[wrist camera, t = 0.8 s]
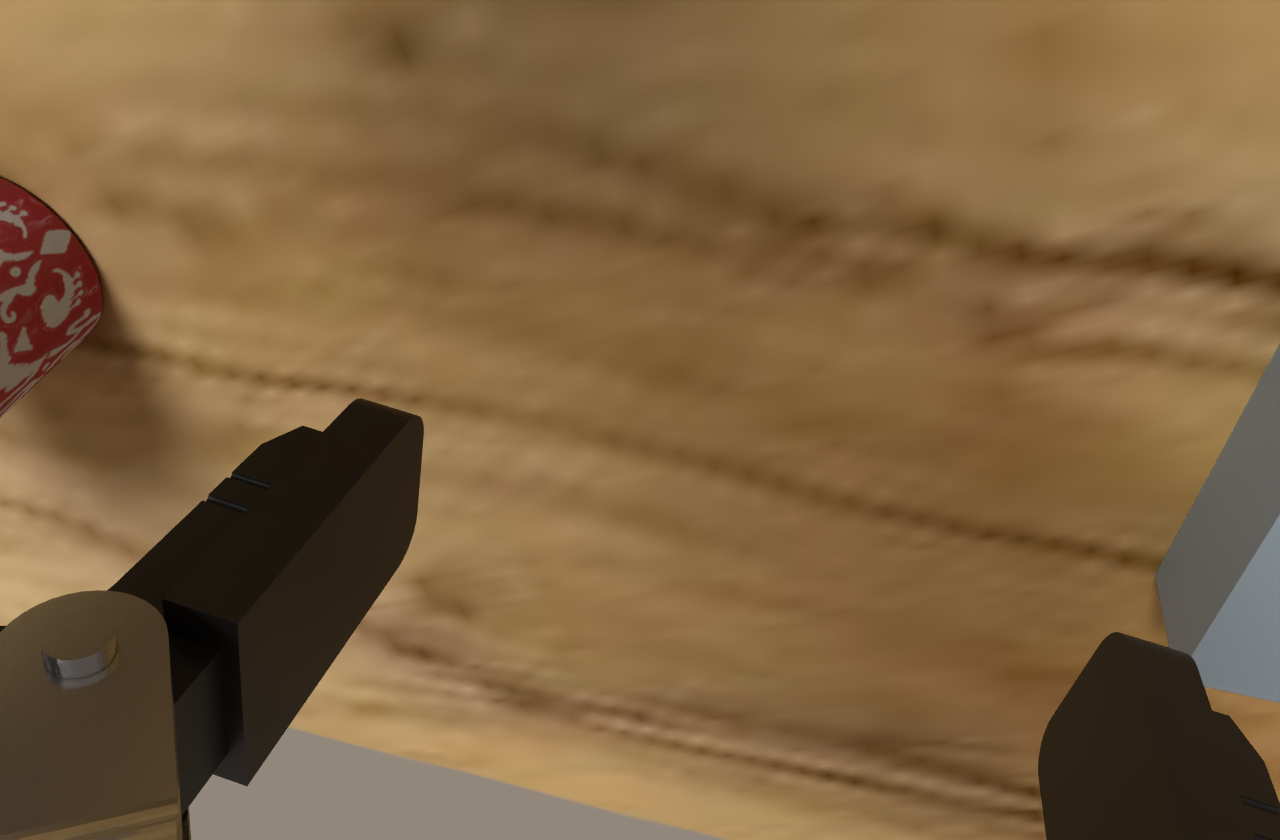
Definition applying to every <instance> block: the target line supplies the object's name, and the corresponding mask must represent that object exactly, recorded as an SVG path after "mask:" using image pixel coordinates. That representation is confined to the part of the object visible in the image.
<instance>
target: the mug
mask: <svg viewBox="0 0 1280 840" xmlns="http://www.w3.org/2000/svg"><path fill="white" fill-rule="evenodd" d="M102 309H103V296H102V290H101V285H100V282H99V279H98V275H97V273H96V271H95V268H94V266H93V264H92V262H91V260H90V258H89V257H88V255H87V253H86V252H85V250H84V249H83V247H82V246H81V244H80V243H79V242H78V240H77V239H76V238H75V236H74V235H73V234H72V233H71V231H70V230H69V229H68V228H67V227H66V226H65V225H64V223H63V222H62V221H61V220H60V219H59V218H58V217H57V216H56V215H55V214H54V213H53V212H52V211H51V210H49V209H48V208H47V207H46V206H45V205H44V204H43V203H41V202H40V201H39V200H37V199H36V198H34V197H33V196H32V195H30V194H29V193H27V192H26V191H24V190H23V189H21V188H19V187H18V186H16V185H14V184H13V183H11V182H9V181H7V180H5V179H2V178H0V418H1V417H2V416H3V415H4V414H5V413H6V412H7V411H8V410H9V409H10V408H11V407H12V406H13V405H15V404H16V403H17V402H18V401H19V400H20V399H21V398H22V397H23V396H24V395H25V394H26V393H27V392H28V391H29V390H30V389H31V388H33V387H34V386H35V385H36V384H37V383H38V382H39V381H40V380H41V379H42V378H43V377H44V376H45V375H46V374H47V373H48V372H49V371H50V370H52V369H53V368H54V367H55V366H56V365H57V364H58V363H59V362H61V361H62V360H63V359H64V358H65V357H66V356H67V355H68V354H69V353H70V352H72V351H73V350H74V349H75V348H76V347H77V346H78V345H79V344H80V343H81V342H82V341H83V340H84V339H85V338H86V337H87V336H88V335H89V334H90V333H91V332H92V331H93V330H94V328H95V327H96V326H97V325H98V323H99V319H100V317H101V314H102Z"/></svg>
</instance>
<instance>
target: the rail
mask: <svg viewBox="0 0 1280 840" xmlns="http://www.w3.org/2000/svg"><path fill="white" fill-rule="evenodd" d="M1155 578H1156V583H1157V588H1158V593H1159V598H1160V603H1161V608H1162V613H1163V618H1164V623H1165V628H1166V633H1167V638H1168V643H1169V648H1171V649H1175V650H1178V651H1181V652H1184V653H1187V654H1189V655H1190V656H1191V657H1192V658H1193V659H1194V661H1195V663H1196V665H1197V667H1198V670H1199V673H1200V676H1201V679H1202V682H1203V685H1204V687H1208V688H1213V689H1217V690H1222V691H1227V692H1232V693H1236V694H1241V695H1246V696H1251V697H1255V698H1260V699H1265V700H1270V701H1274V702H1279V703H1280V344H1279V346H1278V348H1277V349H1276V351H1275V353H1274V355H1273V357H1272V359H1271V361H1270V362H1269V364H1268V366H1267V368H1266V370H1265V372H1264V374H1263V375H1262V377H1261V379H1260V381H1259V383H1258V385H1257V387H1256V388H1255V390H1254V392H1253V394H1252V396H1251V398H1250V400H1249V401H1248V403H1247V405H1246V407H1245V409H1244V411H1243V413H1242V414H1241V416H1240V418H1239V420H1238V422H1237V424H1236V426H1235V427H1234V429H1233V431H1232V433H1231V435H1230V437H1229V439H1228V440H1227V442H1226V444H1225V446H1224V448H1223V450H1222V452H1221V453H1220V455H1219V457H1218V459H1217V461H1216V463H1215V465H1214V466H1213V468H1212V470H1211V472H1210V474H1209V476H1208V478H1207V479H1206V481H1205V483H1204V485H1203V487H1202V489H1201V491H1200V492H1199V494H1198V496H1197V498H1196V500H1195V502H1194V504H1193V505H1192V507H1191V509H1190V511H1189V513H1188V515H1187V517H1186V518H1185V520H1184V522H1183V524H1182V526H1181V528H1180V530H1179V531H1178V533H1177V535H1176V537H1175V539H1174V541H1173V543H1172V544H1171V546H1170V548H1169V550H1168V552H1167V554H1166V556H1165V557H1164V559H1163V561H1162V563H1161V565H1160V567H1159V569H1158V570H1157V572H1156V574H1155Z"/></svg>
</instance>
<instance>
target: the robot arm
mask: <svg viewBox="0 0 1280 840" xmlns="http://www.w3.org/2000/svg"><path fill="white" fill-rule="evenodd" d="M423 436H424V426H423V421H422V419H421V417H420V416H417V415H414V414H411V413H407V412H404V411H401V410H398V409H394V408H391V407H388V406H384V405H381V404H378V403H375V402H371V401H368V400H365V399H361V398H360V399H356V400H354V401H353V402H352V403H351V404H350V405H349V406H348V407H347V408H346V409H345V410H344V411H343V412H342V413H341V414H340V415H339V416H338V417H337V418H336V419H335V420H334V421H333V422H332V423H331V424H330V425H329V426H328V427H327V428H326V429H325V430H324V431H323V432H321V431H318V430H315V429H312V428H308V427H305V426H301V427H299V428H297V429H294V430H292V431H290V432H288V433H285V434H283V435H281V436H279V437H277V438H274V439H272V440H270V441H268V442H265V443H263V444H261V445H260V446H259V447H258V448H257V449H256V450H255V451H254V452H253V453H252V454H251V455H250V456H249V457H248V458H246V459H245V460H244V461H243V462H242V463H241V464H240V465H239V466H238V467H237V468H236V469H235V470H234V471H233V472H232V476H231V478H226V479H224V480H223V481H222V482H221V483H220V484H219V485H218V486H217V487H216V488H215V489H214V490H213V491H212V492H211V493H210V494H209V496H208V499H207V501H206V502H205V501H201V502H200V503H199V504H198V505H197V506H196V507H195V508H194V509H193V510H192V511H191V512H190V513H189V514H188V515H187V516H186V517H185V518H184V519H183V520H181V521H180V522H179V523H178V524H177V525H176V526H175V527H174V528H173V529H172V530H171V531H170V532H169V533H168V534H167V535H166V536H165V537H164V538H163V539H162V540H161V541H159V542H158V543H157V544H156V545H155V546H154V547H153V548H152V549H151V550H150V551H149V552H148V553H147V554H146V555H145V556H144V557H143V558H142V559H141V560H140V561H139V562H137V563H136V564H135V565H134V566H133V567H132V568H131V569H130V570H129V571H128V572H127V573H126V574H125V575H124V576H123V577H122V578H121V579H120V580H119V581H118V582H117V583H115V584H114V585H113V586H112V587H111V588H110V589H109V590H107V591H99V590H96V591H84V592H77V593H72V594H67V595H63V596H60V597H57V598H53V599H51V600H48V601H46V602H43V603H41V604H39V605H37V606H35V607H33V608H31V609H29V610H27V611H26V612H24V613H22V614H21V615H20V616H18V617H17V618H16V619H14V620H13V621H12V622H10V623H9V624H8V625H7V626H0V840H191V830H190V816H189V805H190V804H191V803H192V801H193V800H194V799H195V797H196V796H197V794H198V793H199V792H200V790H201V789H202V788H203V786H204V785H205V784H206V782H207V781H208V780H209V778H210V777H211V776H212V774H214V775H217V776H220V777H223V778H225V779H228V780H231V781H234V782H237V783H239V784H242V785H245V786H248V784H249V782H250V781H251V780H252V778H253V777H254V775H255V774H256V772H257V771H258V770H259V768H260V767H261V765H262V764H263V762H264V761H265V760H266V758H267V757H268V755H269V754H270V752H271V751H272V749H273V748H274V747H275V745H276V744H277V742H278V741H279V739H280V738H281V736H282V735H283V734H284V732H285V731H286V729H287V728H288V726H289V725H290V723H291V722H292V720H293V719H294V718H295V716H296V715H297V713H298V712H299V710H300V709H301V707H302V706H303V705H304V703H305V702H306V700H307V699H308V697H309V696H310V694H311V693H312V692H313V690H314V689H315V687H316V686H317V684H318V683H319V681H320V680H321V679H322V677H323V676H324V674H325V673H326V671H327V670H328V668H329V667H330V666H331V664H332V663H333V661H334V660H335V658H336V657H337V655H338V654H339V653H340V651H341V650H342V648H343V647H344V645H345V644H346V642H347V641H348V639H349V638H350V637H351V635H352V634H353V632H354V631H355V629H356V628H357V626H358V625H359V624H360V622H361V621H362V619H363V618H364V616H365V615H366V613H367V612H368V611H369V609H370V608H371V606H372V605H373V603H374V602H375V600H376V599H377V598H378V596H379V595H380V593H381V592H382V590H383V589H384V587H385V586H386V585H387V583H388V582H389V580H390V579H391V577H392V576H393V574H394V573H395V572H396V570H397V569H398V567H399V565H400V564H401V562H402V560H403V558H404V556H405V554H406V552H407V550H408V547H409V545H410V542H411V539H412V536H413V533H414V529H415V524H416V519H417V510H418V497H419V485H420V473H421V460H422V448H423ZM1038 775H1039V784H1040V792H1041V799H1042V807H1043V815H1044V822H1045V830H1046V838H1047V840H1280V803H1279V800H1278V797H1277V795H1276V792H1275V789H1274V787H1273V784H1272V781H1271V779H1270V776H1269V773H1268V770H1267V768H1266V765H1265V762H1264V761H1263V760H1262V758H1261V757H1260V756H1259V754H1258V753H1257V752H1256V750H1255V749H1254V748H1253V746H1252V745H1251V744H1250V742H1249V741H1248V740H1247V738H1246V737H1245V736H1244V735H1243V733H1242V732H1241V731H1240V729H1239V728H1238V727H1237V725H1236V724H1235V723H1234V721H1233V720H1232V719H1231V717H1230V716H1228V715H1224V714H1221V713H1218V712H1215V711H1212V709H1211V706H1210V703H1209V700H1208V697H1207V694H1206V691H1205V688H1204V685H1203V682H1202V679H1201V676H1200V673H1199V670H1198V667H1197V665H1196V663H1195V661H1194V659H1193V658H1192V657H1191V656H1190V655H1189V654H1187V653H1184V652H1181V651H1178V650H1175V649H1171V648H1168V647H1165V646H1162V645H1158V644H1155V643H1152V642H1149V641H1145V640H1142V639H1139V638H1135V637H1132V636H1129V635H1126V634H1122V633H1119V632H1115V633H1112V634H1110V635H1108V636H1107V637H1106V638H1105V639H1104V640H1103V641H1102V643H1101V644H1100V645H1099V647H1098V648H1097V650H1096V651H1095V653H1094V654H1093V656H1092V657H1091V659H1090V660H1089V662H1088V663H1087V665H1086V666H1085V668H1084V669H1083V671H1082V672H1081V674H1080V675H1079V677H1078V678H1077V680H1076V681H1075V683H1074V684H1073V686H1072V688H1071V689H1070V691H1069V692H1068V694H1067V695H1066V697H1065V698H1064V700H1063V701H1062V703H1061V704H1060V706H1059V707H1058V709H1057V710H1056V712H1055V713H1054V715H1053V716H1052V718H1051V720H1050V721H1049V723H1048V725H1047V728H1046V730H1045V733H1044V736H1043V739H1042V743H1041V748H1040V753H1039V762H1038Z"/></svg>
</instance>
